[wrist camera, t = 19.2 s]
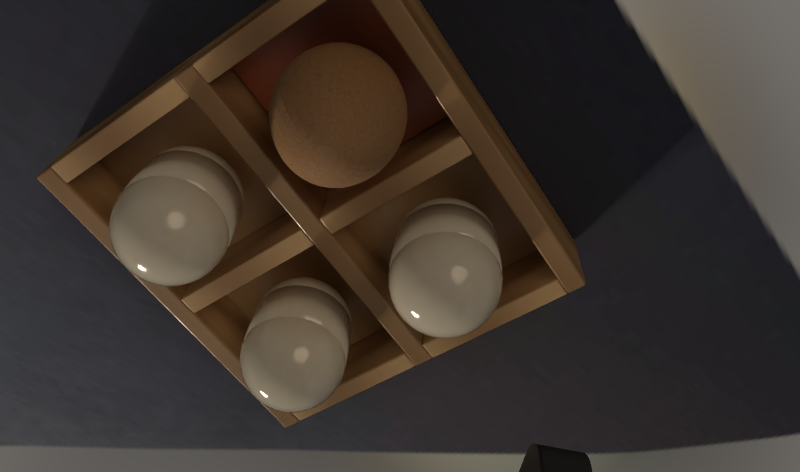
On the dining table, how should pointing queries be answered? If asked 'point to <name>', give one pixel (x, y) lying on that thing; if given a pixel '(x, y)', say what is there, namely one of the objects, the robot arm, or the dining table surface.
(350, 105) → the egg
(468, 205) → the cream egg
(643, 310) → the dining table surface
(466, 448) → the dining table surface
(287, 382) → the cream egg
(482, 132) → the egg tray
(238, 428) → the dining table surface
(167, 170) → the cream egg
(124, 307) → the dining table surface
